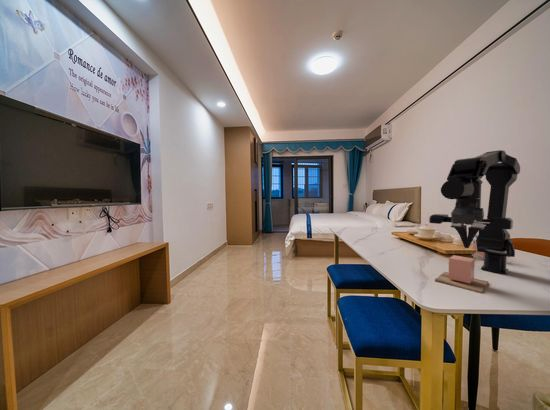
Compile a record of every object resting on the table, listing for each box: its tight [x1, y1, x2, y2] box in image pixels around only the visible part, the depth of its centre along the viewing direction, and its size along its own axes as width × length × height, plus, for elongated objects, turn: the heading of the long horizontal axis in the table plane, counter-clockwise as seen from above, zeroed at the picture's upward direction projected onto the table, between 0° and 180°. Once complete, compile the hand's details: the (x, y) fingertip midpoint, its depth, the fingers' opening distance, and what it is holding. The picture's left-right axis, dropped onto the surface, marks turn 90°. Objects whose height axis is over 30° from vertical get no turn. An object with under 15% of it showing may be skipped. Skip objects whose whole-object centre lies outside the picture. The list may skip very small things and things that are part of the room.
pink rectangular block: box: [448, 254, 476, 284], centre depth 67 cm, size 5×5×7 cm
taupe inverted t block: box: [434, 271, 489, 294], centre depth 67 cm, size 11×11×7 cm
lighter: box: [471, 234, 484, 262], centre depth 92 cm, size 8×3×10 cm, turn 168°
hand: (466, 248), depth 67 cm, fingers closed
